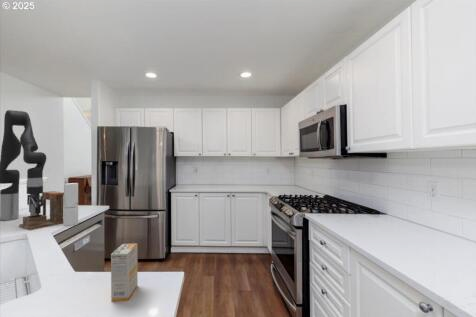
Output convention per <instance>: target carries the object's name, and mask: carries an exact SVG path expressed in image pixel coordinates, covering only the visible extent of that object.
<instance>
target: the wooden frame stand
mask: <svg viewBox="0 0 476 317" xmlns="http://www.w3.org/2000/svg"><path fill="white" fill-rule="evenodd" d="M41 194H42V195H41V196H43V206H42V214H41V213H40V214H39V217H34V218H30V215H28V216H27V215H26V216H22V223H20V224H18V228H21V229H25V230H28V231H33V230H38V229H42V228H47V227H52V226H57V225H64V191H53V190H51V191H43V193H41ZM47 200H48V201H49V218H48V219H47Z"/></svg>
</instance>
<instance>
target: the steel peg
mask: <svg viewBox="0 0 476 317" xmlns="http://www.w3.org/2000/svg"><path fill="white" fill-rule="evenodd" d="M29 216H30V218H34V217H39V214H36V207H35V204H30V212H29Z"/></svg>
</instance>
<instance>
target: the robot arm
mask: <svg viewBox="0 0 476 317" xmlns="http://www.w3.org/2000/svg"><path fill="white" fill-rule="evenodd" d="M3 123H4V124H3V137H2V143H1V150H0V185H2V184H5V185H6V184H11V185H10V186H8V187H6V188H5V187H4V188H3V189H2V188H1V189H0V221H1V220H5V221H13V220H17V218H18V219H19V218H20V215H19V214H20V208H19V207H20V199H19V198H20V180H21V179H20V178H21V174H20V171H19V170H18V169H8V167H9V166H10V164H12V162H14V161H15V160H16V159H17V158H18V157H19V156H20V155H21V152H22V150H23V152H22V154H23V155H22V156H23V157H22V158H23V162H24V163H25V164H28V165H35V166H33V167H31V168H28V169H27V170H26V172H27V175H26V177H27V178H26V195H27V197H26V199H27V201H26V202H27V203H26V205H28V212H29V213H30V204H35V207H36V214H41V213H42V212H41V211H42V210H41V208H42V207H43V196H42V195H41V194H42V193H43V192H44V180H43V177H44V176H43V175H44V174H43V173H44V172H43V171H44V167H45V164H46V162H47V155H46V154H45V152H42V151H41V152H40V151H38V150H39V145H38V143H37V140H36V139H35V136H34V132H33V126H32V121H31V118H30V115H29V113H28V112H26V111H24V110H23V111H22V110H12V109H8V110H6V111H5V113H4V120H3ZM13 126H17V127H21V126H22V127H24V129H23V132H22V133H21V135H20V137H19V138H18V137H17V135H16V133H15V132H14V129H13V128H14V127H13Z"/></svg>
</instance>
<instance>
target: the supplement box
mask: <svg viewBox="0 0 476 317" xmlns="http://www.w3.org/2000/svg"><path fill="white" fill-rule="evenodd" d="M138 280H139V279H138V243H122V244H121V245H120V246H118V247H117V248H116V249H115V250H114V251H113V252H112V253H111V254H110V295H111V296H110V298H111V302H121V301H124V302H125V301H129V300H130V298H131V296H132V295H133V293H134V292H135V290H136V288H137V287H138V282H139V281H138Z"/></svg>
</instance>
